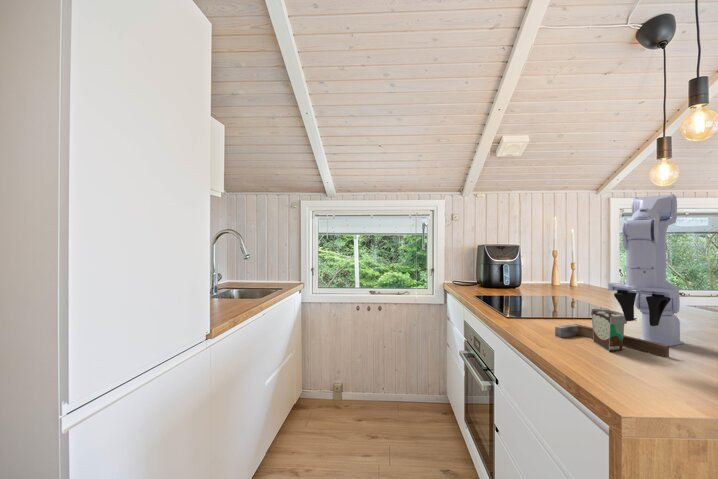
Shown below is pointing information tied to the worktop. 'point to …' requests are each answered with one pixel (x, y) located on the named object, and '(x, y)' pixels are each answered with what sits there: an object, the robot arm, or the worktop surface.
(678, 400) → the worktop surface
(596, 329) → the food container
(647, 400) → the worktop surface
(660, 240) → the robot arm
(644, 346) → the rail
